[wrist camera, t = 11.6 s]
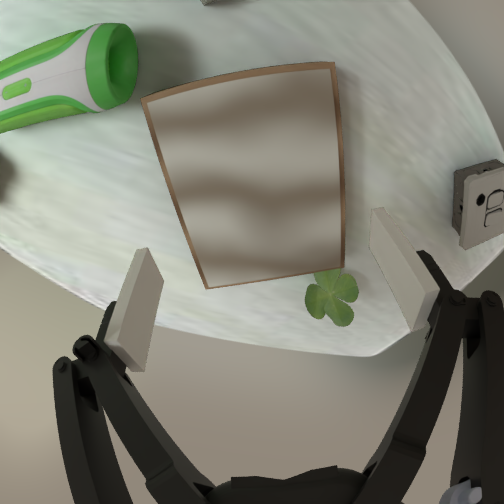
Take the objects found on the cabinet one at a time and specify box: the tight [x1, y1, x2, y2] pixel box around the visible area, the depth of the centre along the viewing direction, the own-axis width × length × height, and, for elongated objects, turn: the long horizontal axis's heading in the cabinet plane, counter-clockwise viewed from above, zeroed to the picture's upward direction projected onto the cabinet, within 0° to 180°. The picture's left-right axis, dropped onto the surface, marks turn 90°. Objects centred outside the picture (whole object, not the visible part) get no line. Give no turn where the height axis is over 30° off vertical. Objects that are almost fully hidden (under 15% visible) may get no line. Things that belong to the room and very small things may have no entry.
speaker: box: [0, 23, 138, 134], centre depth 15 cm, size 18×7×8 cm, turn 87°
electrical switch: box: [452, 159, 504, 250], centre depth 25 cm, size 9×5×9 cm
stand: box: [140, 62, 345, 289], centre depth 24 cm, size 19×14×4 cm
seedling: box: [305, 268, 359, 327], centre depth 33 cm, size 7×8×7 cm
